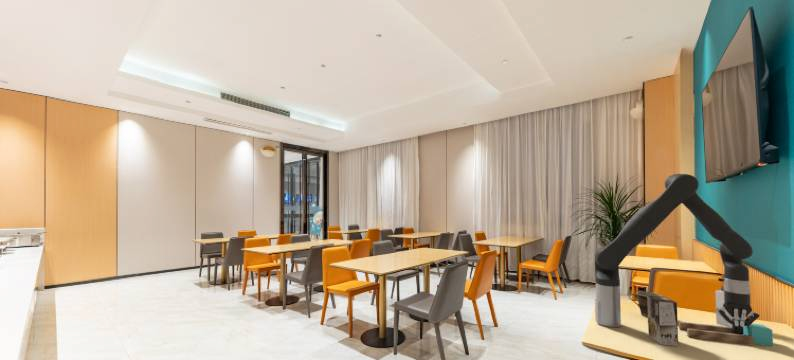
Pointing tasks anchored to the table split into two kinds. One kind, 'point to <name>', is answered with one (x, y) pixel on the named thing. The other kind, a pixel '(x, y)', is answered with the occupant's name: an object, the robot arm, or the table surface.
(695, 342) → the table surface
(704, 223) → the robot arm
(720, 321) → the soap dispenser
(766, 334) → the block
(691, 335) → the chute
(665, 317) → the coffee box
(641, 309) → the ceramic cup
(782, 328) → the table surface
